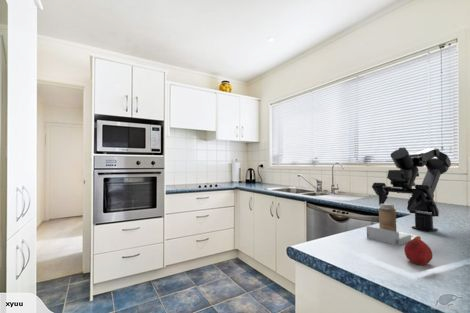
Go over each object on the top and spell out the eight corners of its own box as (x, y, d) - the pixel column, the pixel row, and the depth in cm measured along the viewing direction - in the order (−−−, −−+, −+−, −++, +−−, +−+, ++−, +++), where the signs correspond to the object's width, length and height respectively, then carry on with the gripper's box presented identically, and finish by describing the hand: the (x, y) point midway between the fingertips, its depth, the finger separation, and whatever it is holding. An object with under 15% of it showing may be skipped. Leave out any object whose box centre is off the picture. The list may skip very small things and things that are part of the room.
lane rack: (390, 232, 91) (390, 220, 91) (420, 239, 82) (420, 225, 82) (367, 239, 82) (366, 225, 82) (398, 248, 73) (397, 232, 74)
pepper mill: (386, 235, 83) (384, 203, 84) (400, 239, 78) (398, 205, 79) (376, 237, 81) (375, 204, 82) (390, 241, 77) (388, 206, 77)
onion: (421, 272, 56) (420, 240, 57) (399, 263, 62) (398, 233, 62) (438, 269, 58) (437, 238, 58) (415, 260, 63) (414, 232, 64)
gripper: (373, 163, 94) (359, 190, 88) (429, 162, 78) (416, 195, 72) (383, 181, 98) (370, 209, 92) (439, 183, 82) (427, 217, 76)
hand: (393, 207), depth 83 cm, fingers open, 9 cm apart
